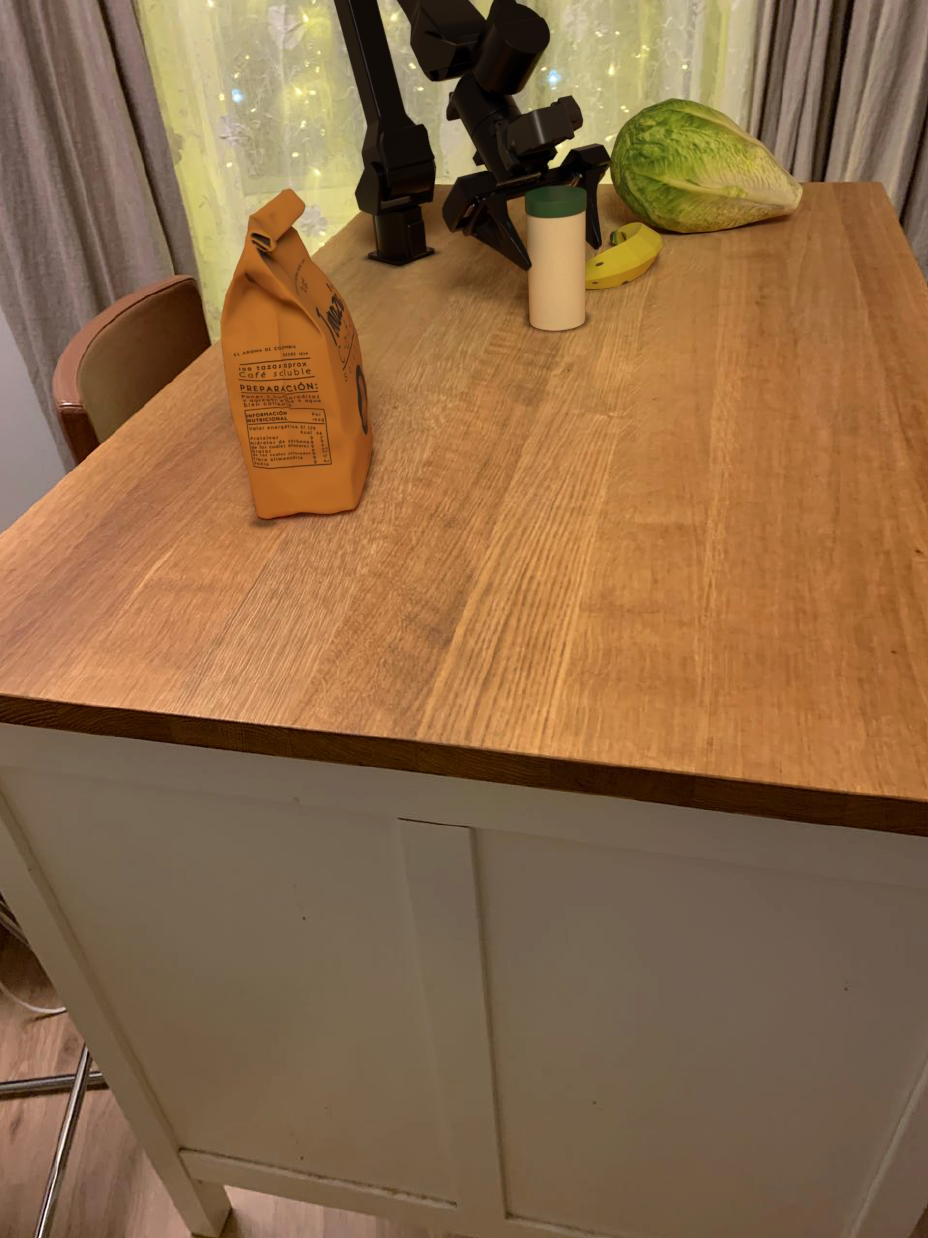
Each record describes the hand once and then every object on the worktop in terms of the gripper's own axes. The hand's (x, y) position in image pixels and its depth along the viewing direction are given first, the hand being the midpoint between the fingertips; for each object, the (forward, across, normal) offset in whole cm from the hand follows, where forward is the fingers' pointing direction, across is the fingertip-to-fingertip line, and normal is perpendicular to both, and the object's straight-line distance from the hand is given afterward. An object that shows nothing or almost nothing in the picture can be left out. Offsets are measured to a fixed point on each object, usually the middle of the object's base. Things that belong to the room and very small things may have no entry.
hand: (564, 257), depth 100 cm
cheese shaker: (+4, 0, +6) cm, 7 cm away
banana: (-3, +14, +13) cm, 20 cm away
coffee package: (+15, -37, -5) cm, 40 cm away
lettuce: (-5, +34, +15) cm, 38 cm away
